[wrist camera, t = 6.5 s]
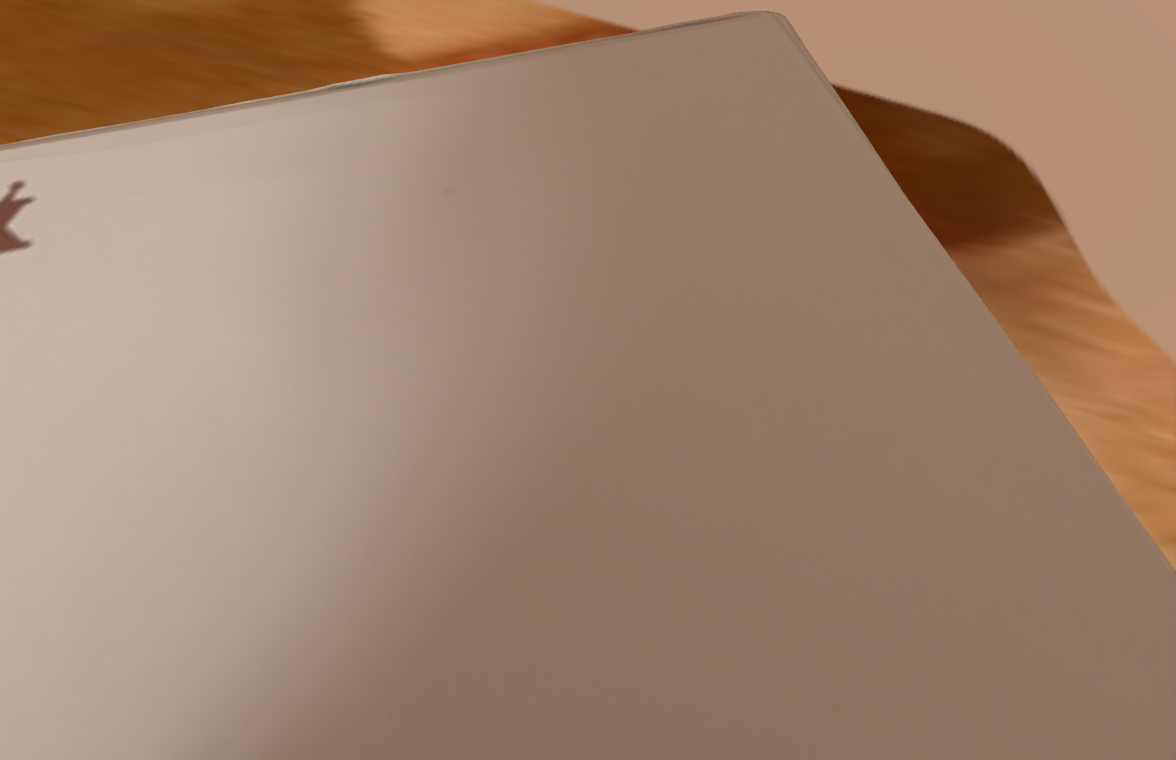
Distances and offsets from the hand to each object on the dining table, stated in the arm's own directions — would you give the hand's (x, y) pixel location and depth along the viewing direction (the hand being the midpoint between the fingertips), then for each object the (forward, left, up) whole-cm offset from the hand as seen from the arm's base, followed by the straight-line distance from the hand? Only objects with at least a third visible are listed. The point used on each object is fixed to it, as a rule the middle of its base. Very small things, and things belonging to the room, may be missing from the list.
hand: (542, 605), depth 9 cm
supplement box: (-1, -1, -7) cm, 7 cm away
